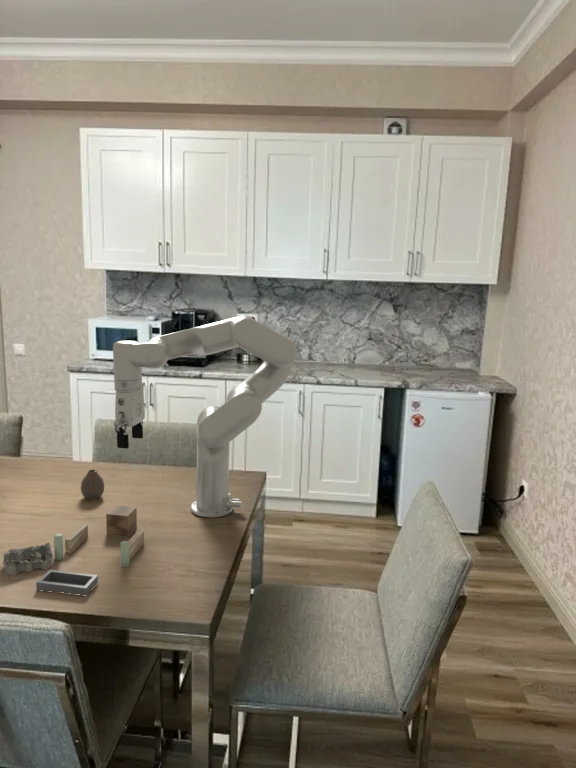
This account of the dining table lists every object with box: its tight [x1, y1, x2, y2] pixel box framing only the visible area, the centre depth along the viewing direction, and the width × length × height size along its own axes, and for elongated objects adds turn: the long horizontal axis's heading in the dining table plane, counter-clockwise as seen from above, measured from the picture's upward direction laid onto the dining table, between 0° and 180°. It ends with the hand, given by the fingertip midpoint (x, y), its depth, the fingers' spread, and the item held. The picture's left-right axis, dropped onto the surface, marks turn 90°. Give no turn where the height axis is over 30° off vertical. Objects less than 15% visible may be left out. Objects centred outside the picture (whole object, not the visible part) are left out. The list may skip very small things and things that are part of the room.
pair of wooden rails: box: [64, 523, 145, 561], centre depth 147 cm, size 17×9×4 cm, turn 82°
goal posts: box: [53, 533, 130, 569], centre depth 139 cm, size 19×2×6 cm, turn 82°
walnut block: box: [105, 504, 138, 538], centre depth 157 cm, size 6×6×6 cm
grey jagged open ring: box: [2, 542, 54, 576], centre depth 137 cm, size 11×8×4 cm
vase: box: [80, 469, 105, 501], centre depth 177 cm, size 7×7×9 cm
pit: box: [35, 569, 99, 596], centre depth 129 cm, size 12×6×2 cm, turn 82°
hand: (130, 442), depth 166 cm, fingers open, 9 cm apart
